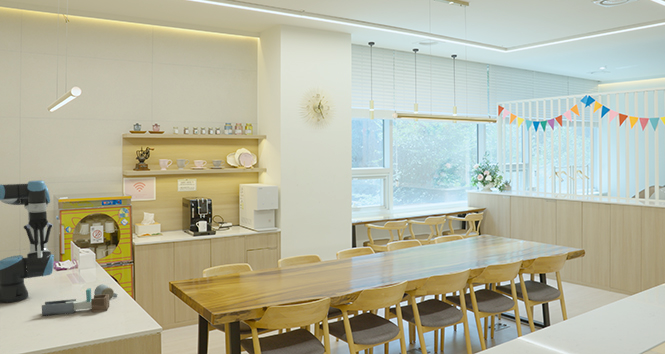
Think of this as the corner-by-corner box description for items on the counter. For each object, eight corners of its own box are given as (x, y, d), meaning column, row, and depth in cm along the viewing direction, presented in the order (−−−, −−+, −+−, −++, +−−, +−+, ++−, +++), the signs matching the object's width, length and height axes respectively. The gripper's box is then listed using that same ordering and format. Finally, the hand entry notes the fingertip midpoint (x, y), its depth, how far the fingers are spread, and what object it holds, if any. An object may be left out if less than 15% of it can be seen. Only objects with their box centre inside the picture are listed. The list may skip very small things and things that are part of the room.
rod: (66, 308, 247) (65, 290, 247) (104, 305, 252) (104, 287, 251) (64, 310, 244) (63, 292, 243) (103, 307, 249) (102, 288, 248)
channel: (46, 312, 246) (45, 301, 246) (76, 309, 250) (76, 299, 249) (42, 316, 240) (41, 305, 239) (73, 313, 244) (72, 302, 243)
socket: (94, 307, 253) (94, 295, 252) (109, 305, 255) (108, 293, 254) (91, 312, 245) (91, 299, 245) (106, 310, 247) (106, 298, 247)
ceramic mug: (102, 302, 261) (101, 288, 260) (94, 299, 266) (93, 286, 265) (120, 297, 269) (120, 284, 269) (112, 295, 274) (112, 281, 274)
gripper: (20, 213, 239) (23, 260, 241) (50, 211, 243) (52, 258, 245) (25, 210, 246) (27, 256, 248) (54, 209, 250) (56, 254, 252)
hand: (40, 257), depth 247 cm, fingers closed
